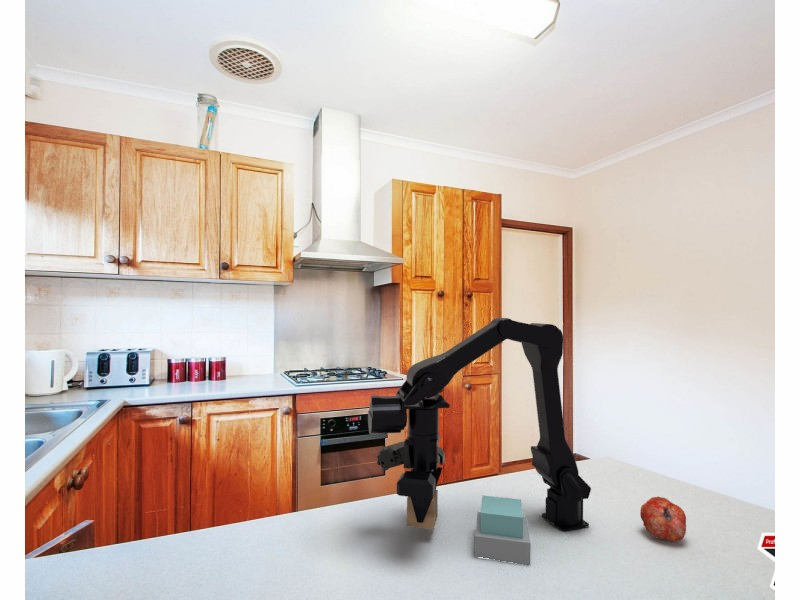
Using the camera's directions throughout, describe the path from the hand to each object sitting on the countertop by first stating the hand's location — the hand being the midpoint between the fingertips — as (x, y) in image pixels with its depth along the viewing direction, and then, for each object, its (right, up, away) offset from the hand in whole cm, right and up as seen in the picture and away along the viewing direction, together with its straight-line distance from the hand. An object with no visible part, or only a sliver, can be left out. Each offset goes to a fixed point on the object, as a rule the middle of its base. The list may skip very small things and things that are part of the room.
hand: (422, 515), depth 79 cm
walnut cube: (0, -1, 0) cm, 1 cm away
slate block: (+14, -4, -4) cm, 15 cm away
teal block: (+14, 0, -4) cm, 14 cm away
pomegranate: (+45, -4, 0) cm, 45 cm away
